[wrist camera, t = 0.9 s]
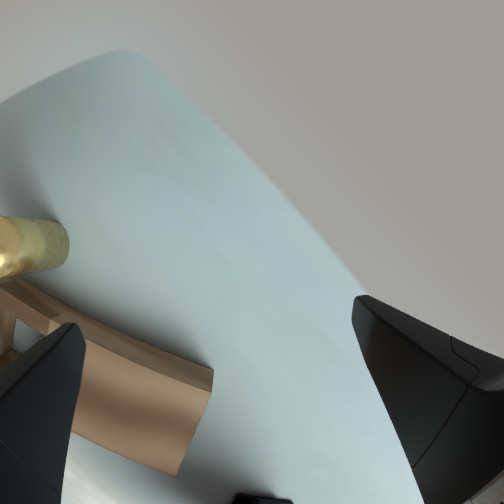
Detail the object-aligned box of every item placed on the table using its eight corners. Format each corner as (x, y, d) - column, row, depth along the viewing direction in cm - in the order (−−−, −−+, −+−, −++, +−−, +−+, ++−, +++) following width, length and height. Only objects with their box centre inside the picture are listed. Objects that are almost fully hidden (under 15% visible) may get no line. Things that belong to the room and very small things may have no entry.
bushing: (61, 277, 22) (-17, 295, 12) (27, 258, 22) (-52, 266, 12) (75, 230, 22) (-3, 225, 12) (40, 213, 22) (-39, 202, 12)
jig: (180, 448, 23) (175, 476, 19) (0, 354, 22) (-23, 367, 18) (213, 370, 23) (211, 392, 19) (12, 272, 22) (-15, 276, 18)
